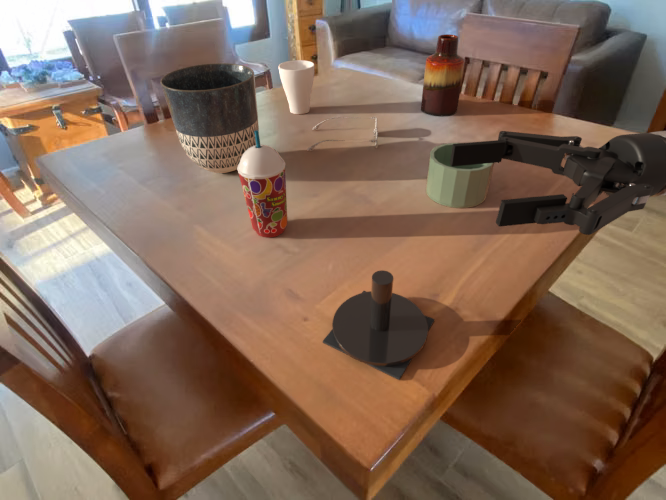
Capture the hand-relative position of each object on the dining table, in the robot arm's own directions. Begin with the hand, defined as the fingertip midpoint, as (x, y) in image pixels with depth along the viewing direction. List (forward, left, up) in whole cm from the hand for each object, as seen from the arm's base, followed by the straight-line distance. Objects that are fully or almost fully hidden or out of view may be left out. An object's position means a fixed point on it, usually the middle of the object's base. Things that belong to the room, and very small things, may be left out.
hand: (473, 181), depth 48 cm
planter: (+63, -21, -24) cm, 71 cm away
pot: (+11, -37, -24) cm, 45 cm away
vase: (+32, -81, -24) cm, 90 cm away
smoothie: (+37, -6, -24) cm, 45 cm away
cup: (+69, -60, -24) cm, 95 cm away
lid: (+8, +6, -23) cm, 25 cm away
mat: (+7, +6, -24) cm, 26 cm away
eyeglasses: (+46, -48, -24) cm, 71 cm away
